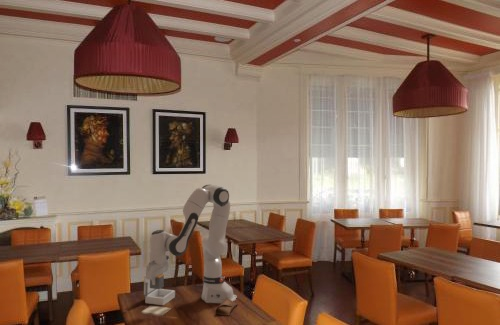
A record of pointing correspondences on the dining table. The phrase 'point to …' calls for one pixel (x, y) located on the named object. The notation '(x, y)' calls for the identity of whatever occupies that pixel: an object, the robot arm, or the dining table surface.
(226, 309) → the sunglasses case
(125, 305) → the dining table surface
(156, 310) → the birch board
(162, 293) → the case
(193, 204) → the robot arm
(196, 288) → the dining table surface
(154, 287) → the block
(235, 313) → the dining table surface
